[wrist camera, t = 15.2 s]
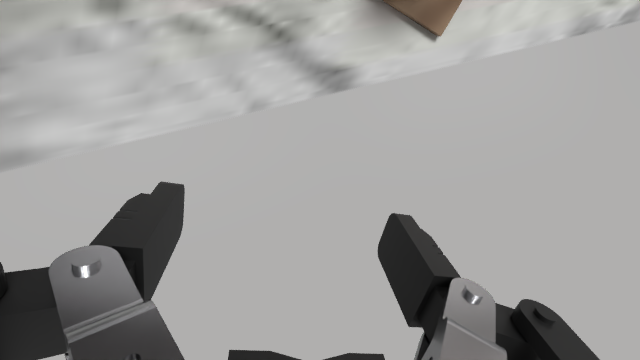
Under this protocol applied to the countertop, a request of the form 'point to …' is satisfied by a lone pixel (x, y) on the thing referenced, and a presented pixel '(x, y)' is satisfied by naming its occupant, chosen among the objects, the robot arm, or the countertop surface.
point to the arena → (428, 12)
